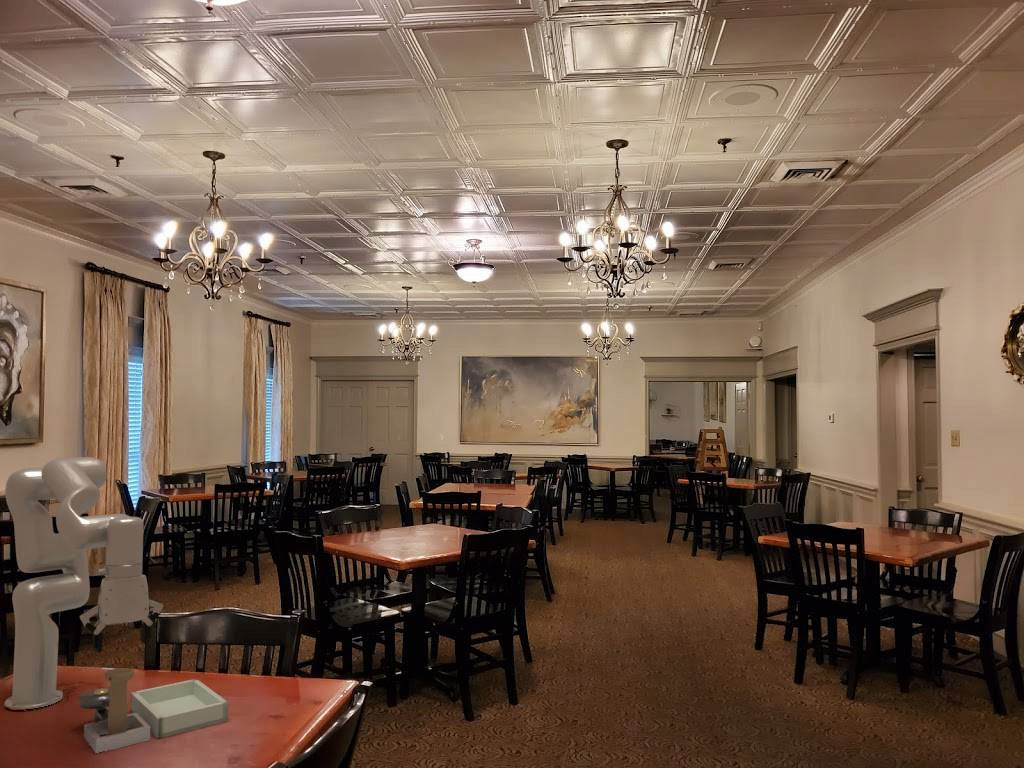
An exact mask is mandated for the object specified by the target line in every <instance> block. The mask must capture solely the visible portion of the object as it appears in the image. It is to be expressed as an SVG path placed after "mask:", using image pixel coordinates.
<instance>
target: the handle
mask: <svg viewBox="0 0 1024 768" xmlns="http://www.w3.org/2000/svg"><path fill="white" fill-rule="evenodd" d="M134 677H135V671H134V670H133V669H131V668H125V667H124V668H121V667H120V668H119V667H118V668H117V667H116V668H112V669H109V670H107V671H105V672H104V678H105V680H106V681H107V682H108V683H110V687H111V691H110V702H109V706H108V731H109V734H108V735H111V734H115V733H119V732H124V731H127V729H126V724H127V715H128V711H129V709H128V682H129V681H131V679H133V678H134Z"/></svg>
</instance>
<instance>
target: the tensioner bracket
mask: <svg viewBox="0 0 1024 768" xmlns="http://www.w3.org/2000/svg"><path fill="white" fill-rule="evenodd" d="M110 691H111V686H109V687H100V688H95V689H91V690H87V691H85V692H83V693H81V694H80V695H79V697H78V699H79V700H78V707H80V708H82V709H86V710H93V709H94V713H93V715H94V716H93V722H89V723H84V726H83V730H84V731H83V732H84V733H83V739H84V738H85V739H84V741H85V742H86V743H87V742H88V743H89V744H88V743H87V744H88V745H89V747H90V746H91V747H92V748H91V747H90V748H91V749H92V751H93V750H94V751H95V752H96V753H98V754H100V753H99V752H102V753H104V752H103V751H105V752H109V751H112V750H113V751H114V750H116V749H121V748H125V747H128V746H133V745H136V744H140V743H144V742H148V741H151V732H150V726H149V725H148V724H147V723H146V722H145V721H144V720H143V719H142V718H141V717H140V716H139V715H138V714H137V713H132V712H131V713H129V714H128V713H127V724H126V730H125V731H124V732H119V733H115V734H111V735H109V731H108V711H109V709H107V708H109V702H110ZM103 735H105V736H103ZM108 750H109V751H108ZM94 751H93V752H94ZM95 752H94V753H95ZM96 753H95V754H96Z"/></svg>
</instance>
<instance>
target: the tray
mask: <svg viewBox="0 0 1024 768" xmlns="http://www.w3.org/2000/svg"><path fill="white" fill-rule="evenodd" d="M129 711H130V712H131V714H132V713H137V714H138V715H139V716H140V717H141V718H142V719H143V720H144V721H145V722H146V723H147V724H148V725H149V726H150V734H152V735H153V736H154V737H155V738H156V739H157V740H159V739H163V738H167V737H170V736H176V735H178V734H182V733H187V732H190V731H194V730H198V729H202V728H206V727H210V726H213V725H218V724H223V723H225V722H228V720H229V719H228V716H229V702H228V701H227V700H226V699H224V697H222V696H221V695H219V694H217V693H216V692H215V691H213V690H212V689H211V688H210V687H208V686H207V685H206V684H204V683H203V682H201V681H200V680H199V679H197V678H193V679H188V680H184V681H179V682H174V683H170V684H165V685H160V686H157V687H151V688H146V689H141V690H137V691H132V692H130V709H129Z"/></svg>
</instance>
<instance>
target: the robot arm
mask: <svg viewBox="0 0 1024 768" xmlns="http://www.w3.org/2000/svg"><path fill="white" fill-rule="evenodd" d="M107 473H108V472H107V468H106V466H105V464H104V463H103V461H102V460H100V459H98V458H96V457H90V456H87V457H86V456H84V457H81V456H80V457H60V458H56V459H52V460H49V462H47V463H46V464H45V465H44V466H43V467H29V468H24V469H23V468H22V469H19V470H16V471H14V472H12V473H11V474H10V475H9V476H8V478H7V480H6V484H5V488H4V489H5V491H4V492H5V493H4V494H5V500H6V504H7V507H8V510H9V512H10V515H11V517H12V520H13V526H14V540H15V541H14V542H15V554H16V555H15V556H16V562H17V566H18V569H19V570H20V571H21V572H23V573H25V574H26V573H27V574H28V573H30V574H32V573H41V572H42V573H43V572H49V571H56V570H61V571H62V573H60V574H54V575H53V574H52V575H45V576H38V577H33V578H30V579H26V580H23V581H22V582H20V583H19V584H17V585H16V587H15V588H14V589H13V591H12V605H13V613H14V625H15V626H14V629H15V631H14V653H13V675H12V676H13V677H12V694H11V695H12V696H10V697H8V698H6V700H5V701H4V706H5V705H6V706H7V707H11V708H18V709H19V708H20V709H26V708H38V707H43V708H45V707H44V706H47V707H49V706H48V705H50V706H52V705H55V704H56V702H57V703H59V702H60V701H61V700H63V696H64V695H63V694H64V693H63V691H61V690H59V689H57V675H58V660H59V659H58V658H59V655H58V653H59V635H60V634H59V627H58V625H57V624H56V622H54V620H52V618H51V617H50V614H53V613H58V612H64V611H69V610H72V609H73V610H74V609H77V608H81V607H82V606H84V605H85V604H86V603H87V602H88V600H89V597H90V591H91V587H90V586H91V585H90V575H89V562H88V551H87V550H93V549H97V548H106V550H105V551H106V552H105V553H106V554H105V555H106V556H105V564H104V567H102V568H98V575H99V576H104V578H102V580H101V583H100V588H99V593H98V598H97V599H98V600H97V605H95V606H93V607H92V608H90V609H89V610H87V611H85V612H84V613H82V614H81V615H79V619H80V621H81V622H82V624H83V626H84V628H86V629H87V630H88V631H89V632H91V633H92V646H91V647H92V649H94V650H95V651H96V652H97V653H101V652H103V633H101V632H102V630H104V628H105V627H106V626H113V625H119V624H127V623H132V622H138V621H141V622H142V624H141V625H140V642H141V643H142V644H144V645H148V644H149V639H151V626H152V625H153V623H154V622H155V621H156V620H157V619H158V618H159V616H160V613H161V612H162V610H163V608H164V605H163V603H160V602H158V601H155V600H152V599H149V586H148V581H147V576H146V574H143V557H144V556H143V551H144V550H143V549H144V520H143V519H142V518H141V517H138V516H129V515H128V514H125V513H113V514H112V513H111V514H100V515H99V514H98V515H88V516H87V515H86V516H81V515H83V514H84V513H86V512H88V511H90V510H91V509H92V508H94V506H96V505H97V503H98V501H99V498H100V488H101V487H102V486H104V484H105V483H106V480H107V476H108V475H107ZM43 500H44V501H45V500H46V501H47V500H57V501H58V502H59V506H58V508H57V511H56V514H55V515H56V516H55V518H56V519H55V522H56V523H55V524H56V528H57V531H58V532H57V533H55V532H54V525H53V516H52V515H51V513H50V511H48V509H47V508H46V507H45V506H44V505H43V504H42V503H40V501H43ZM150 607H153V608H154V609H153V610H152V611H153V612H151V613H150ZM95 615H96V619H97V622H96V623H95V624H92V622H90V618H92V617H93V616H95ZM58 701H59V702H58ZM54 703H55V704H54ZM51 704H52V705H51Z"/></svg>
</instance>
